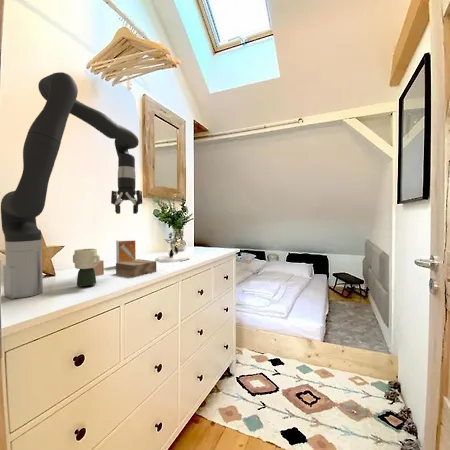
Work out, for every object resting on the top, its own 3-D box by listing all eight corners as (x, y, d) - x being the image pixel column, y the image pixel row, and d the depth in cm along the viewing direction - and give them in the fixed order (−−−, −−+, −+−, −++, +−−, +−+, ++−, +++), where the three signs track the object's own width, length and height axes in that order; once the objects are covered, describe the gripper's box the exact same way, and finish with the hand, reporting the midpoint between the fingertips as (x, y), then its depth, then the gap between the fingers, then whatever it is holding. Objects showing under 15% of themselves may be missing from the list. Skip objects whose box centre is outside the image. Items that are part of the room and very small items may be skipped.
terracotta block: (92, 276, 108) (92, 262, 108) (85, 275, 111) (85, 261, 111) (103, 274, 113) (103, 260, 112) (97, 273, 115) (96, 259, 115)
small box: (119, 267, 127) (118, 241, 127) (116, 265, 132) (115, 240, 132) (136, 266, 131) (135, 240, 131) (132, 264, 137) (132, 239, 136)
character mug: (106, 284, 96) (105, 248, 95) (92, 289, 89) (91, 251, 88) (81, 282, 98) (80, 248, 98) (65, 287, 91) (64, 250, 91)
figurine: (170, 254, 164) (169, 228, 162) (195, 256, 156) (194, 229, 154) (148, 263, 146) (146, 234, 144) (175, 266, 139) (173, 235, 136)
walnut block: (134, 277, 107) (134, 265, 107) (116, 274, 114) (115, 263, 113) (156, 272, 117) (156, 261, 117) (138, 269, 124) (138, 259, 123)
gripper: (107, 176, 116) (107, 213, 116) (136, 175, 113) (136, 213, 113) (117, 179, 123) (117, 214, 123) (145, 178, 120) (145, 214, 120)
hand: (126, 213), depth 118 cm, fingers open, 8 cm apart
